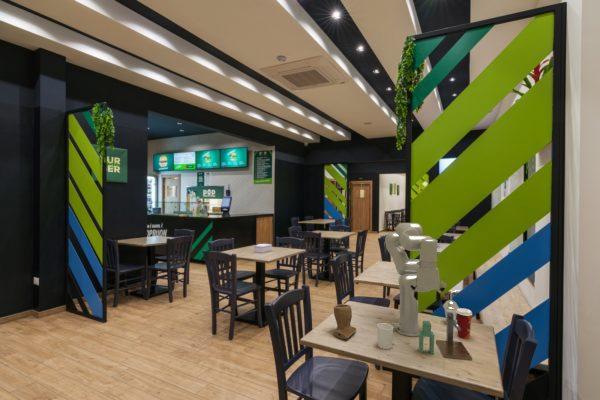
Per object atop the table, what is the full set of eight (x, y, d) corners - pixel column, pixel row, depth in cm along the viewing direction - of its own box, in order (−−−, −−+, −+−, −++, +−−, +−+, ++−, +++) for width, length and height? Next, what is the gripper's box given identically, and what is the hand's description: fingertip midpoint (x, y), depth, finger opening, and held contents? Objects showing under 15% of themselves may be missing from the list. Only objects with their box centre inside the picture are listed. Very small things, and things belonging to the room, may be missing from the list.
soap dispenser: (443, 320, 194) (443, 287, 193) (459, 323, 190) (460, 289, 189) (442, 325, 186) (443, 290, 186) (459, 328, 182) (460, 293, 182)
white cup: (383, 351, 155) (383, 330, 154) (373, 344, 162) (373, 324, 162) (396, 348, 158) (397, 328, 158) (386, 341, 165) (386, 322, 165)
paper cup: (473, 340, 167) (474, 313, 167) (457, 338, 169) (458, 312, 169) (469, 334, 175) (469, 308, 175) (453, 332, 176) (454, 307, 176)
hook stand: (444, 358, 148) (445, 324, 148) (435, 342, 165) (436, 310, 165) (472, 361, 146) (473, 326, 146) (461, 344, 163) (462, 312, 162)
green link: (420, 353, 153) (421, 323, 153) (418, 349, 157) (419, 320, 157) (433, 354, 152) (434, 324, 152) (431, 350, 156) (432, 321, 156)
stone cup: (339, 326, 183) (339, 300, 183) (358, 331, 177) (359, 304, 176) (326, 336, 170) (326, 307, 170) (347, 342, 164) (347, 312, 164)
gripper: (410, 265, 152) (409, 301, 152) (449, 267, 148) (448, 304, 149) (407, 261, 159) (406, 296, 160) (445, 263, 156) (444, 298, 156)
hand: (426, 300), depth 154 cm, fingers open, 9 cm apart
